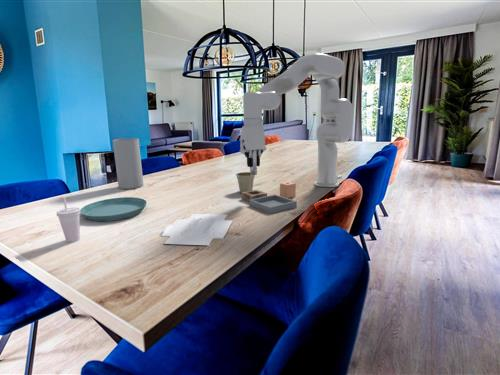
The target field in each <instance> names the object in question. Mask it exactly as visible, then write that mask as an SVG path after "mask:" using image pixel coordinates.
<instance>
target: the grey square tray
mask: <svg viewBox="0 0 500 375" xmlns="http://www.w3.org/2000/svg"><path fill="white" fill-rule="evenodd" d="M297 206H298V205H297V200H294V199H292V198H285V197H282V196H280V194H270V195H267V196H265V197H261V198H256V199H251V200H250V202H249V207H253V208H255V209H256V210H257V209H258V210H260V211H263V212H265V213H267V214H273V213H278V212H282V211H283V212H284V211H285V210H290V209H295V208H297Z"/></svg>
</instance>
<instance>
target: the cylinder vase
mask: <svg viewBox="0 0 500 375" xmlns="http://www.w3.org/2000/svg"><path fill="white" fill-rule="evenodd" d="M112 148H113V153H114V154H113V155H114V161H115V162H114V163H115V170H116V178H117V185H118V188H119V189H120V190H121V189H122V190H135V189H139V188H142V187H143V186H144V179H143V177H144V176H143V168H142V156H141V150H140V139H139V138H136V137H135V138H132V137H131V138H117V139H116V138H115V139H113V140H112Z"/></svg>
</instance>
